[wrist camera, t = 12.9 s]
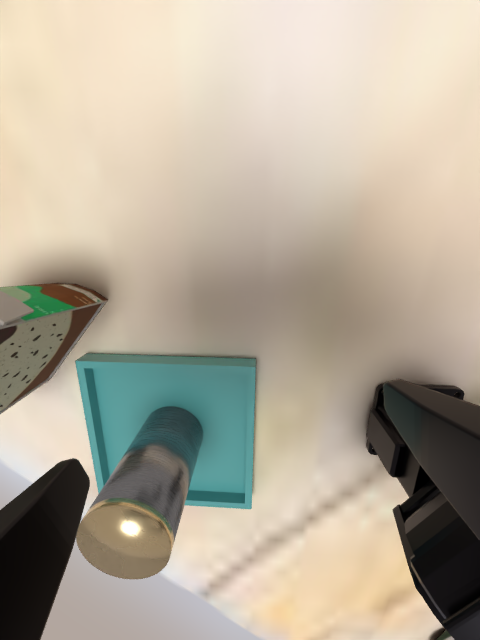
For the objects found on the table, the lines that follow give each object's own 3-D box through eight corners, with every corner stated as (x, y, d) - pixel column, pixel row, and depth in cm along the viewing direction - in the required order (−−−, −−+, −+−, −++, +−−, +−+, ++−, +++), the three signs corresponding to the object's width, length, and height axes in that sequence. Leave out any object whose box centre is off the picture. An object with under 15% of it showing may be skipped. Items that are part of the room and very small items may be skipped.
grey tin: (215, 431, 22) (189, 546, 14) (179, 466, 24) (134, 592, 15) (167, 394, 22) (109, 492, 13) (133, 432, 23) (59, 544, 14)
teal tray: (255, 358, 21) (255, 366, 20) (251, 493, 25) (251, 509, 23) (87, 353, 22) (75, 360, 20) (108, 485, 26) (99, 500, 24)
